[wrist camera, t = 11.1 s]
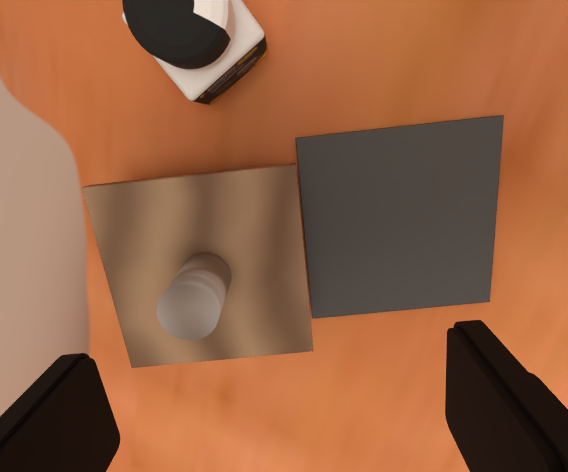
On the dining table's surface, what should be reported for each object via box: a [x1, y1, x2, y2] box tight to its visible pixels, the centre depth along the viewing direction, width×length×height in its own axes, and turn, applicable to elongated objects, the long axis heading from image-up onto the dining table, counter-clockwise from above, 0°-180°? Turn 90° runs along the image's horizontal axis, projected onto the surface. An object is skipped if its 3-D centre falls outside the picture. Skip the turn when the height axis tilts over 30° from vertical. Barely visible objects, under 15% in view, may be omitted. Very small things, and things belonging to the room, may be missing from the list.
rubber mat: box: [296, 116, 504, 319], centre depth 36 cm, size 19×19×1 cm
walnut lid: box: [82, 163, 313, 368], centre depth 27 cm, size 16×16×7 cm
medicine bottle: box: [122, 0, 268, 105], centre depth 26 cm, size 7×7×12 cm
